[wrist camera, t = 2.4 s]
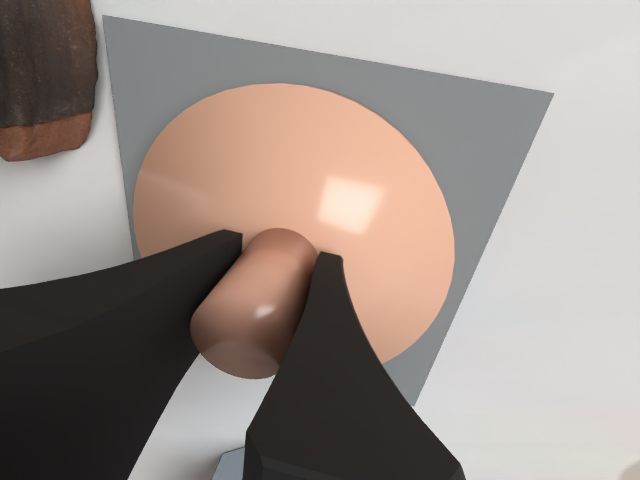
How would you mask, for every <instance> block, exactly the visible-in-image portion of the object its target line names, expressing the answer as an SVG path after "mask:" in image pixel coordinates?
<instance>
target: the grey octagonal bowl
mask: <svg viewBox="0 0 640 480" xmlns="http://www.w3.org/2000/svg"><path fill="white" fill-rule="evenodd" d="M244 453H245V447H243V448H240V449H237V450H233V451H230V452H227V453H224V454H223V455H222V456H221V459H220V461H219V463H218V466H217V468H216V470H215V473H214V475H213V477H212V480H242V478H243V465H244Z"/></svg>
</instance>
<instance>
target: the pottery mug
mask: <svg viewBox="0 0 640 480" xmlns="http://www.w3.org/2000/svg"><path fill="white" fill-rule="evenodd" d="M95 35H96V31H95V23H94V18H93V14H92V11H91V4H90V0H0V156H1V157H2V158H3V159H4V160H6V161H24V160H31V159H35V158H38V157H43V156H47V155H51V154H55V153H57V152H61V151H66V150H74V149H78V148H79V147H80V146H81V144H83V142H84V141H85V140H86V136H87V133H88V132H89V130H90V121H91V118H92V110H93V107H94V95H95V84H96V81H97V79H98V70H97V64H96V55H97V41H96V37H95Z"/></svg>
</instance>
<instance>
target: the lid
mask: <svg viewBox="0 0 640 480" xmlns="http://www.w3.org/2000/svg"><path fill="white" fill-rule="evenodd" d="M133 220H134V230H135V235H136V241H137V246H138V249H139V252H140V255H141V258H144V257H147V256H150V255H153V254H156V253H159V252H162V251H165V250H168V249H170V248H173V247H176V246H178V245H181V244H184V243H186V242H189V241H192V240H194V239H197V238H199V237H202V236H205V235H207V234H210V233H213V232H216V231H219V230H223V229H226V230H230V231H235V232H239V233H243V239H242V253H241V255H240V256H239V257H238V258H237V260H236V261H235V262H234V263H233V265H232V266H231V267H230V268H229V270H228V271H227V272H226V273H225V275H224V276H223V277H222V278H221V280H220V281H219V282H218V283H217V285H216V286H215V287H214V288H213V290H212V291H211V292H210V293H209V295H208V296H207V297H206V298H205V300H204V301H203V302H202V303H201V305H200V306H199V307H198V308H197V310H196V311H195V313H194V314H193V316H192V319H191V323H190V332H191V337H192V340H193V342H194V344H195V346H196V348H197V349H198V351H199V352H200V353H201V355H202V356H203V357H204V358H205V359H206V360H207V361H209V362H210V363H211V364H212V365H214V366H215V367H217V368H218V369H220V370H222V371H224V372H226V373H228V374H231V375H233V376H237V377H241V378H246V379H262V378H267V377H270V376H273V375H275V374H276V373H277V371H278V369H279V367H280V365H281V363H282V361H283V359H284V357H285V354H286V352H287V350H288V348H289V345H290V343H291V341H292V339H293V336H294V334H295V332H296V329H297V327H298V325H299V322H300V320H301V317H302V315H303V312H304V310H305V307H306V303H307V300H308V295H309V290H310V285H311V280H312V276H313V271H314V266H315V261H316V259H317V257H318V255H319V253H320V252H321V251H323V252H327V253H332V254H336V255H341V257H342V258H343V267H344V274H345V279H346V283H347V287H348V291H349V294H350V297H351V301H352V303H353V306H354V309H355V311H356V314H357V316H358V319H359V321H360V324H361V326H362V328H363V330H364V332H365V335H366V337H367V338H368V340H369V342H370V344H371V346H372V348H373V350H374V352H375V353H376V355H377V357H378V359H379V360H380V362H381V364H383V363H385V362H387V361H389V360H390V359H392V358H394V357H395V356H397V355H399V354H401V353H402V352H403V351H405V350H406V349H407V348H408V347H410V346H411V345H412V344H413V343H415V342H416V341H417V340H418V339H419V338H420V336H421V335H422V334H423V333H424V332H425V331H426V330H427V329H428V328H429V326H430V325H431V323H432V322H433V321H434V319H435V318H436V316H437V315H438V313H439V311H440V309H441V307H442V305H443V303H444V301H445V299H446V296H447V293H448V290H449V287H450V284H451V280H452V274H453V267H454V261H455V255H454V234H453V229H452V223H451V217H450V214H449V211H448V208H447V205H446V202H445V199H444V196H443V194H442V191H441V189H440V187H439V185H438V183H437V181H436V179H435V177H434V175H433V173H432V171H431V169H430V167H429V165H428V164H427V163H426V161H425V160H424V158H423V157H422V156H421V154H420V153H419V151H418V150H417V149H416V147H415V146H414V145H413V144H412V143H411V142H410V141H409V140H408V139H407V138H406V137H405V135H404V134H403V133H402V132H401V131H400V130H399V129H398V128H396V127H395V126H394V125H393V124H391V123H390V122H389V121H388V120H386V119H385V118H384V117H383V116H381V115H380V114H379V113H377V112H375V111H374V110H372V109H370V108H368V107H367V106H365V105H363V104H362V103H360V102H358V101H356V100H354V99H351V98H349V97H346V96H344V95H342V94H339V93H337V92H334V91H331V90H327V89H323V88H319V87H315V86H311V85H303V84H293V83H267V84H255V85H248V86H243V87H238V88H233V89H229V90H225V91H222V92H220V93H217V94H214V95H212V96H209V97H207V98H204V99H202V100H201V101H199V102H197V103H196V104H194V105H192V106H190V107H189V108H187V109H185V110H184V111H183V112H182V113H180V114H179V115H178V116H177V117H176V118H174V119H173V120H172V121H171V122H170V123H169V124H168V125H167V126H166V127H165V128H164V129H163V131H162V132H161V133H160V134H159V135H158V136H157V138H156V139H155V140H154V142H153V144H152V145H151V147H150V149H149V150H148V152H147V154H146V155H145V158H144V160H143V163H142V165H141V168H140V171H139V173H138V177H137V182H136V186H135V191H134V202H133Z"/></svg>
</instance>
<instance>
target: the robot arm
mask: <svg viewBox="0 0 640 480" xmlns="http://www.w3.org/2000/svg"><path fill="white" fill-rule="evenodd" d="M242 239H243V233H239V232H235V231H230V230H226V229H223V230H219V231H216V232H213V233H210V234H207V235H205V236H202V237H199V238H197V239H194V240H192V241H189V242H186V243H184V244H181V245H178V246H176V247H173V248H170V249H168V250H165V251H162V252H159V253H156V254H153V255H150V256H147V257H144V258H141V259H138V260H135V261H132V262H129V263H126V264H122V265H119V266H115V267H111V268H107V269H103V270H99V271H95V272H91V273H87V274H83V275H78V276H73V277H68V278H63V279H58V280H52V281H47V282H42V283H37V284H31V285H25V286H18V287H11V288H4V289H0V480H127V479H128V477H129V475H130V473H131V471H132V469H133V467H134V465H135V464H136V462H137V460H138V458H139V456H140V454H141V452H142V450H143V448H144V446H145V444H146V442H147V441H148V439H149V437H150V435H151V433H152V431H153V429H154V427H155V425H156V424H157V422H158V420H159V418H160V416H161V414H162V413H163V411H164V409H165V407H166V405H167V404H168V402H169V400H170V398H171V396H172V395H173V393H174V391H175V389H176V388H177V386H178V384H179V383H180V381H181V380H182V378H183V376H184V375H185V373H186V372H187V370H188V369H189V367H190V366H191V365H192V363H193V362H194V360H195V359H196V357H197V356H198V355H199V353H200V352H199V351H198V349H197V348H196V346H195V344H194V342H193V340H192V337H191V332H190V323H191V319H192V316H193V314H194V313H195V311H196V310H197V308H198V307H199V306H200V305H201V303H202V302H203V301H204V300H205V298H206V297H207V296H208V295H209V293H210V292H211V291H212V290H213V288H214V287H215V286H216V285H217V283H218V282H219V281H220V280H221V278H222V277H223V276H224V275H225V273H226V272H227V271H228V270H229V268H230V267H231V266H232V265H233V263H234V262H235V261H236V260H237V258H238V257H239V256H240V255H241V253H242ZM242 480H466V478H465V475H464V472H463V469H462V466H461V464H460V463H459V462H458V460H457V459H456V458H455V457H454V456H453V455H452V454H451V453H450V451H449V450H448V449H447V448H446V447H445V446H444V445H443V443H442V442H441V441H440V440H439V439H438V438H437V437H436V436H435V434H434V433H433V432H432V431H431V430H430V429H429V428H428V427H427V425H426V424H425V423H424V422H423V421H422V420H421V418H420V417H419V416H418V415H417V414H416V412H415V411H414V410H413V408H412V407H411V406H410V404H409V403H408V402H407V401H406V399H405V398H404V397H403V395H402V394H401V392H400V391H399V389H398V388H397V386H396V385H395V383H394V382H393V380H392V379H391V377H390V376H389V374H388V373H387V371H386V370H385V368H384V367H383V365H382V364H381V362H380V360H379V359H378V357H377V355H376V353H375V352H374V350H373V348H372V346H371V344H370V342H369V340H368V338H367V337H366V335H365V332H364V330H363V328H362V326H361V324H360V321H359V319H358V316H357V314H356V311H355V309H354V306H353V303H352V301H351V297H350V294H349V291H348V287H347V283H346V279H345V274H344V267H343V258H342V257H341V255H336V254H332V253H327V252H323V251H321V252H320V253H319V255H318V257H317V259H316V261H315V266H314V271H313V276H312V280H311V285H310V290H309V295H308V300H307V303H306V307H305V310H304V312H303V315H302V317H301V320H300V322H299V325H298V327H297V329H296V332H295V334H294V336H293V339H292V341H291V343H290V345H289V348H288V350H287V352H286V354H285V357H284V359H283V361H282V363H281V365H280V367H279V369H278V371H277V373H276V376H275V378H274V380H273V382H272V384H271V386H270V388H269V390H268V392H267V393H266V395H265V397H264V399H263V401H262V403H261V405H260V407H259V409H258V411H257V413H256V415H255V416H254V418H253V420H252V422H251V424H250V426H249V427H248V429H247V431H246V440H245V453H244V465H243V478H242Z"/></svg>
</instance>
